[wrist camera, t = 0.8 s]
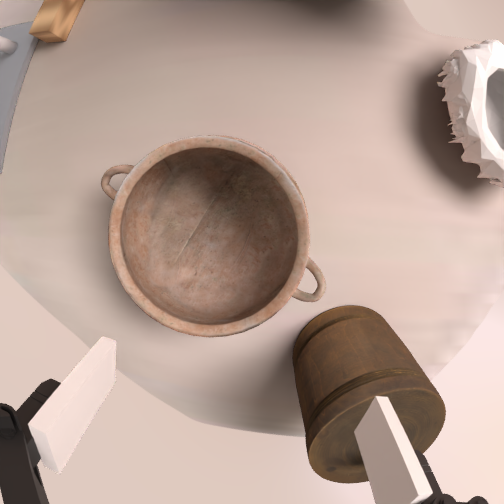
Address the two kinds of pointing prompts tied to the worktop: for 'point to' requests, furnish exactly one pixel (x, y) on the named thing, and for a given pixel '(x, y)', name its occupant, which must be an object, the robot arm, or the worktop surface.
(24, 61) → the pintle base
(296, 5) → the worktop surface
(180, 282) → the cooking pot
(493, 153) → the bowl
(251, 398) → the worktop surface
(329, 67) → the worktop surface
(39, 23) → the link
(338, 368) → the wooden container
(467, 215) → the worktop surface
